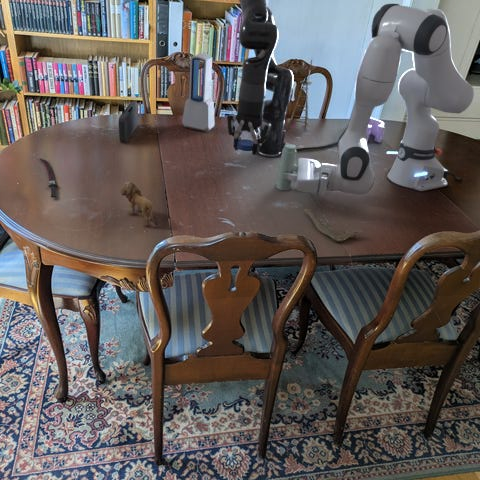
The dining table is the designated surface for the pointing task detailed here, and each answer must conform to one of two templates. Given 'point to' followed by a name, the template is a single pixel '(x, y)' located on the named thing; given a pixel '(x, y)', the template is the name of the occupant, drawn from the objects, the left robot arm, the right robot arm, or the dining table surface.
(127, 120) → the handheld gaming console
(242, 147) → the lid
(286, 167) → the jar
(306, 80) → the miniature windmill
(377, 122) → the lavender notched block
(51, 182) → the sword
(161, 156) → the dining table surface
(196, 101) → the electronic device
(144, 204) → the lion figurine
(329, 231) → the jawbone
